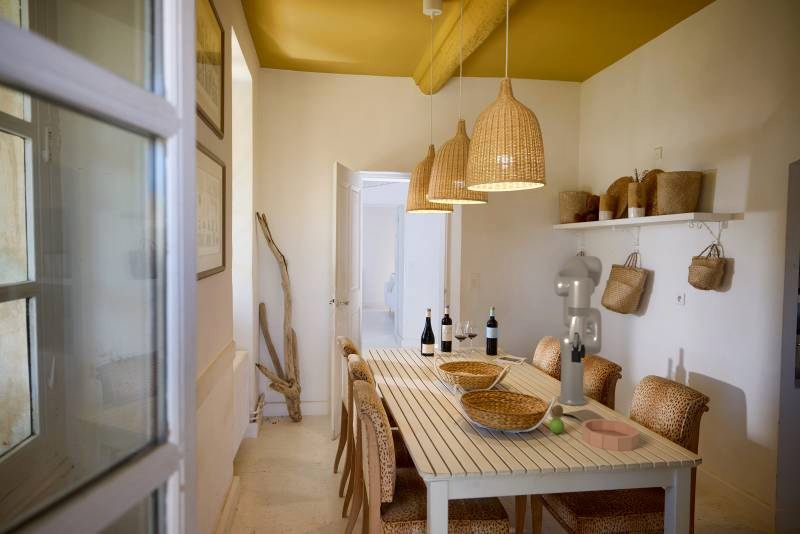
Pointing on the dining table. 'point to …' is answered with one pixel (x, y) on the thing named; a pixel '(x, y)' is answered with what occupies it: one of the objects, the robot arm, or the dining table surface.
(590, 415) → the clay tablet
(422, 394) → the dining table surface
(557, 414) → the snail figurine
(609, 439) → the terracotta bowl
